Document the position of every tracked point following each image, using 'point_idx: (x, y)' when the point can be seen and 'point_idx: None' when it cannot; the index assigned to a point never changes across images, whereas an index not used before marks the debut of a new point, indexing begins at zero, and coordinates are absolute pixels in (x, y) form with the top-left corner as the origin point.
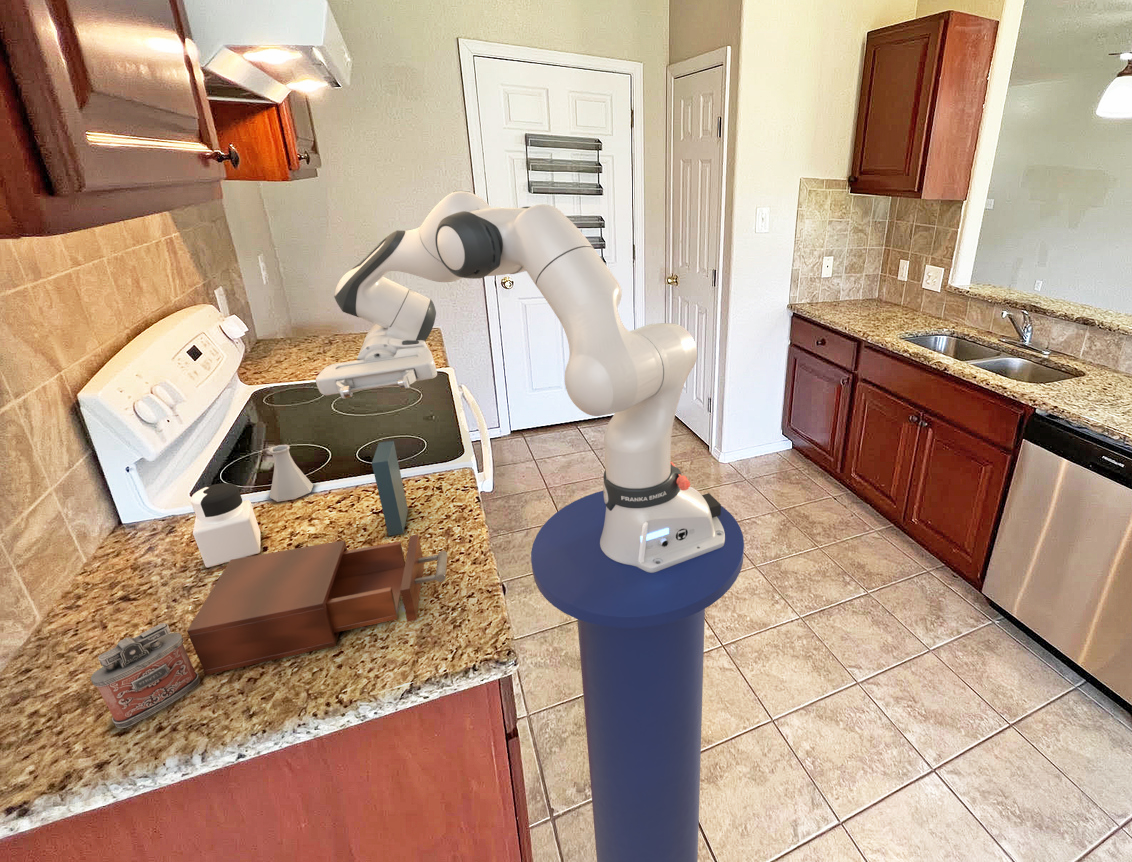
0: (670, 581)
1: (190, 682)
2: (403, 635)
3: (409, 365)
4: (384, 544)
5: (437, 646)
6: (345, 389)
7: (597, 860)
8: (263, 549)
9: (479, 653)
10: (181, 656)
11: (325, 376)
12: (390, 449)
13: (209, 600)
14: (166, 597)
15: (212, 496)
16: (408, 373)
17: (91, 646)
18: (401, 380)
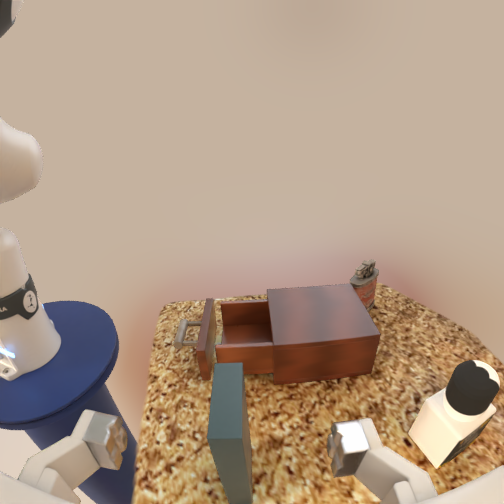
0: (51, 315)
1: None
2: (220, 325)
3: (15, 485)
4: (232, 347)
5: (198, 314)
6: (348, 423)
7: None
8: (409, 441)
9: (174, 306)
10: None
11: (501, 486)
12: (211, 400)
13: (357, 299)
14: (443, 379)
15: (466, 363)
16: (52, 455)
17: (445, 342)
18: (100, 414)
